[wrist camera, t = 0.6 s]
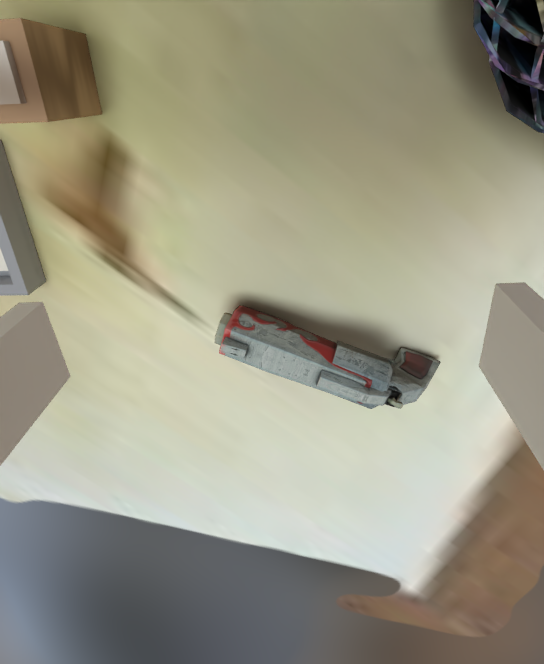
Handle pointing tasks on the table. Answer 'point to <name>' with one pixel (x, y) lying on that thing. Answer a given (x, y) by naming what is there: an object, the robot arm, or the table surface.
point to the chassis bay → (15, 240)
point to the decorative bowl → (515, 54)
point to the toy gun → (323, 360)
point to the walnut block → (44, 73)
